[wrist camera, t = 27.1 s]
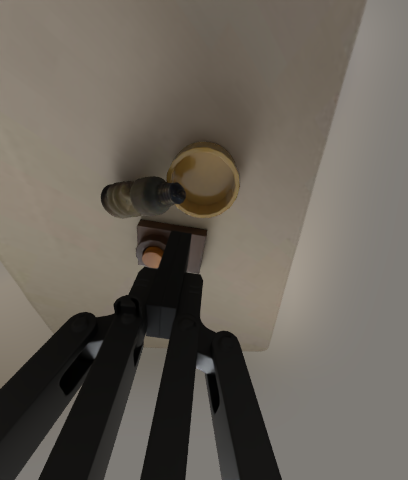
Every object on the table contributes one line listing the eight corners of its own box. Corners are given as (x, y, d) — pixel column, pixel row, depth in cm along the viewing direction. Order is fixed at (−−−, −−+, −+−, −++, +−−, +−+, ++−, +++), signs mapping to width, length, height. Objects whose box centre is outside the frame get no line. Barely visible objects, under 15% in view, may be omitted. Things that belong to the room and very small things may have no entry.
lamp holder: (244, 147, 31) (248, 154, 28) (229, 211, 37) (230, 223, 34) (174, 135, 30) (168, 140, 27) (169, 201, 36) (164, 212, 33)
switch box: (206, 229, 39) (205, 242, 36) (199, 266, 44) (198, 280, 41) (140, 219, 39) (133, 231, 35) (141, 257, 44) (135, 271, 40)
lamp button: (165, 247, 37) (163, 254, 36) (164, 263, 39) (162, 269, 38) (144, 244, 37) (141, 250, 36) (144, 260, 39) (141, 266, 38)
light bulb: (190, 224, 28) (118, 225, 36) (202, 190, 30) (131, 198, 38) (164, 197, 23) (88, 205, 32) (180, 159, 26) (105, 176, 34)
